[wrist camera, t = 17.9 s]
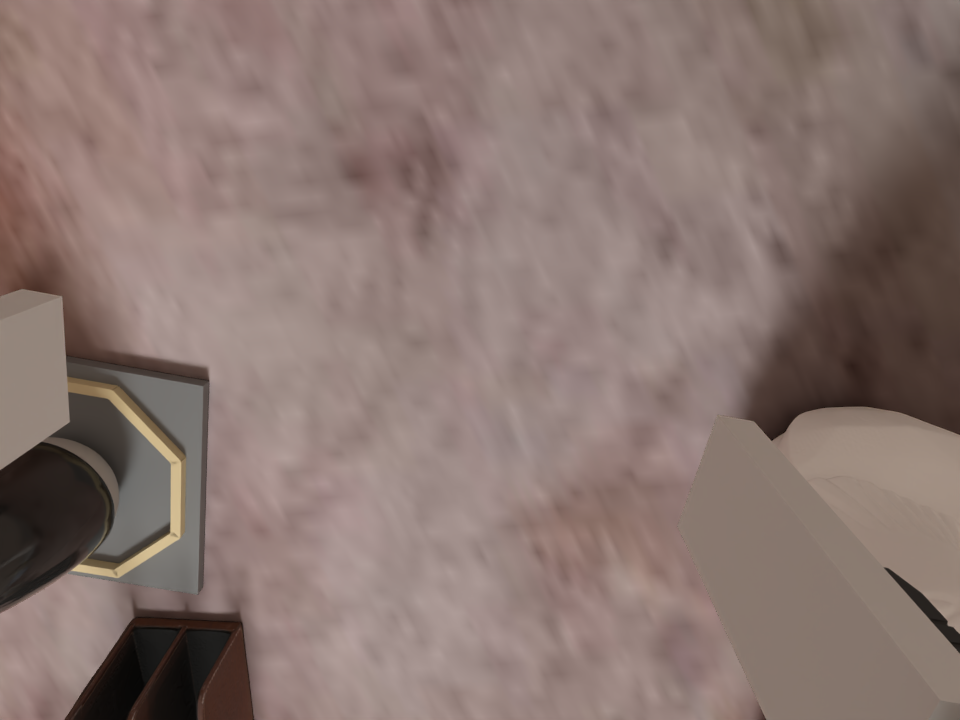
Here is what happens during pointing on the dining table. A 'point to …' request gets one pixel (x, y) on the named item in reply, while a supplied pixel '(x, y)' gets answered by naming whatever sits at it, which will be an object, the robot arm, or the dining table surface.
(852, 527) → the decorative rooster
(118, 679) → the letter holder
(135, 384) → the dock plate
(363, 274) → the dining table surface
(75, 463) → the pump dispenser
